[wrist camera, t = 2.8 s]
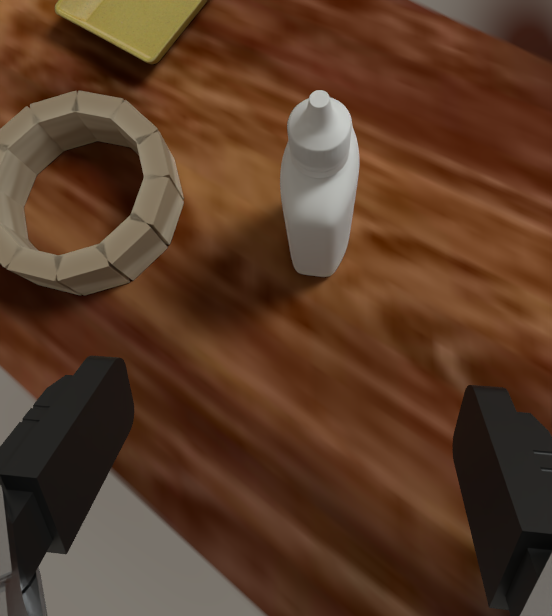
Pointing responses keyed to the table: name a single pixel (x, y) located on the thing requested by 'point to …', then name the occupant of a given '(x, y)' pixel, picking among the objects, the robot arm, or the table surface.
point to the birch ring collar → (67, 135)
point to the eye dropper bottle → (319, 183)
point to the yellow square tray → (133, 22)
